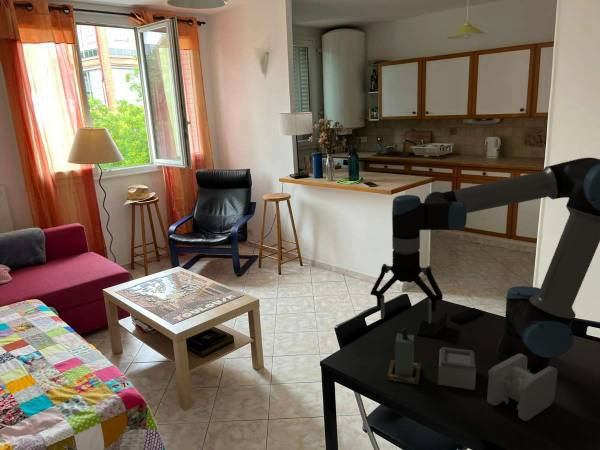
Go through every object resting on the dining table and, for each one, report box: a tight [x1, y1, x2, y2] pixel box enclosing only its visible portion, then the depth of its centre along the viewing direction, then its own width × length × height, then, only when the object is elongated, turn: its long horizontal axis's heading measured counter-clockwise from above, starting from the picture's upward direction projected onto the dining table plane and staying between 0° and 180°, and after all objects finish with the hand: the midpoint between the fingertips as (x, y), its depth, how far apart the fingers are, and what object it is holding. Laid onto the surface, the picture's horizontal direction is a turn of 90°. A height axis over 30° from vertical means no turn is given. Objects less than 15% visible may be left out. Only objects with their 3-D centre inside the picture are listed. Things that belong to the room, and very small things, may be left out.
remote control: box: [449, 307, 485, 325], centre depth 170 cm, size 5×2×15 cm
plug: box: [394, 327, 415, 377], centre depth 134 cm, size 5×5×15 cm
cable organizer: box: [486, 354, 558, 422], centre depth 118 cm, size 15×11×12 cm
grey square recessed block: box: [437, 346, 477, 391], centre depth 132 cm, size 10×10×7 cm
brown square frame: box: [386, 359, 421, 386], centre depth 135 cm, size 9×9×2 cm
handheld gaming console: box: [416, 312, 449, 339], centre depth 160 cm, size 12×7×10 cm
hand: (405, 319), depth 131 cm, fingers open, 13 cm apart
